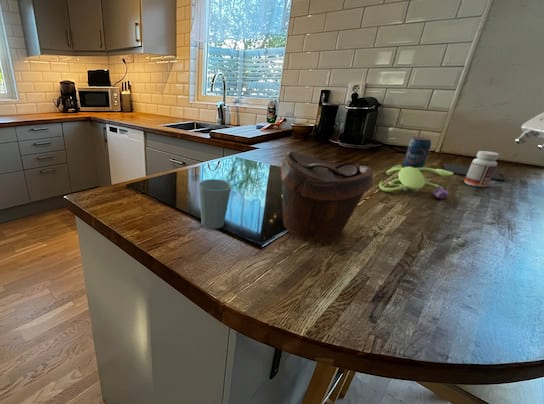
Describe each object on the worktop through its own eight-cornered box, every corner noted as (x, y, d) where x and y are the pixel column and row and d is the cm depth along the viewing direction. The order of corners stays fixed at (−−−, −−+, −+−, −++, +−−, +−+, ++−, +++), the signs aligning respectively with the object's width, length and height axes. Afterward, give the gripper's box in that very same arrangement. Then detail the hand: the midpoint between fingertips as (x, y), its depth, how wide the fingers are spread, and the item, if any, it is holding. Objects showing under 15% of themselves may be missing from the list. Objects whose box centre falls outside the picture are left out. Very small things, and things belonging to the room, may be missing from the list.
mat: (495, 172, 118) (495, 170, 118) (503, 181, 107) (504, 179, 107) (443, 165, 126) (444, 163, 126) (446, 173, 116) (447, 171, 116)
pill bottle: (483, 183, 105) (497, 151, 100) (490, 188, 100) (504, 155, 95) (461, 180, 108) (474, 149, 103) (466, 185, 103) (479, 153, 98)
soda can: (402, 167, 121) (411, 138, 117) (402, 164, 127) (411, 135, 122) (423, 171, 118) (433, 140, 113) (422, 166, 123) (432, 138, 118)
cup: (202, 232, 69) (204, 191, 65) (193, 218, 76) (194, 180, 72) (232, 229, 71) (236, 188, 67) (221, 215, 78) (224, 178, 74)
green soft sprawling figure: (448, 183, 105) (454, 167, 103) (449, 206, 86) (456, 188, 83) (387, 172, 115) (391, 158, 113) (375, 190, 96) (380, 174, 94)
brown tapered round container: (377, 245, 65) (402, 167, 58) (292, 252, 62) (308, 170, 55) (328, 211, 81) (343, 146, 74) (259, 215, 78) (267, 148, 71)
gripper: (625, 129, 81) (562, 161, 87) (558, 119, 100) (510, 146, 105) (614, 111, 80) (551, 144, 86) (548, 104, 99) (500, 132, 105)
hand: (528, 145), depth 96 cm, fingers open, 8 cm apart
